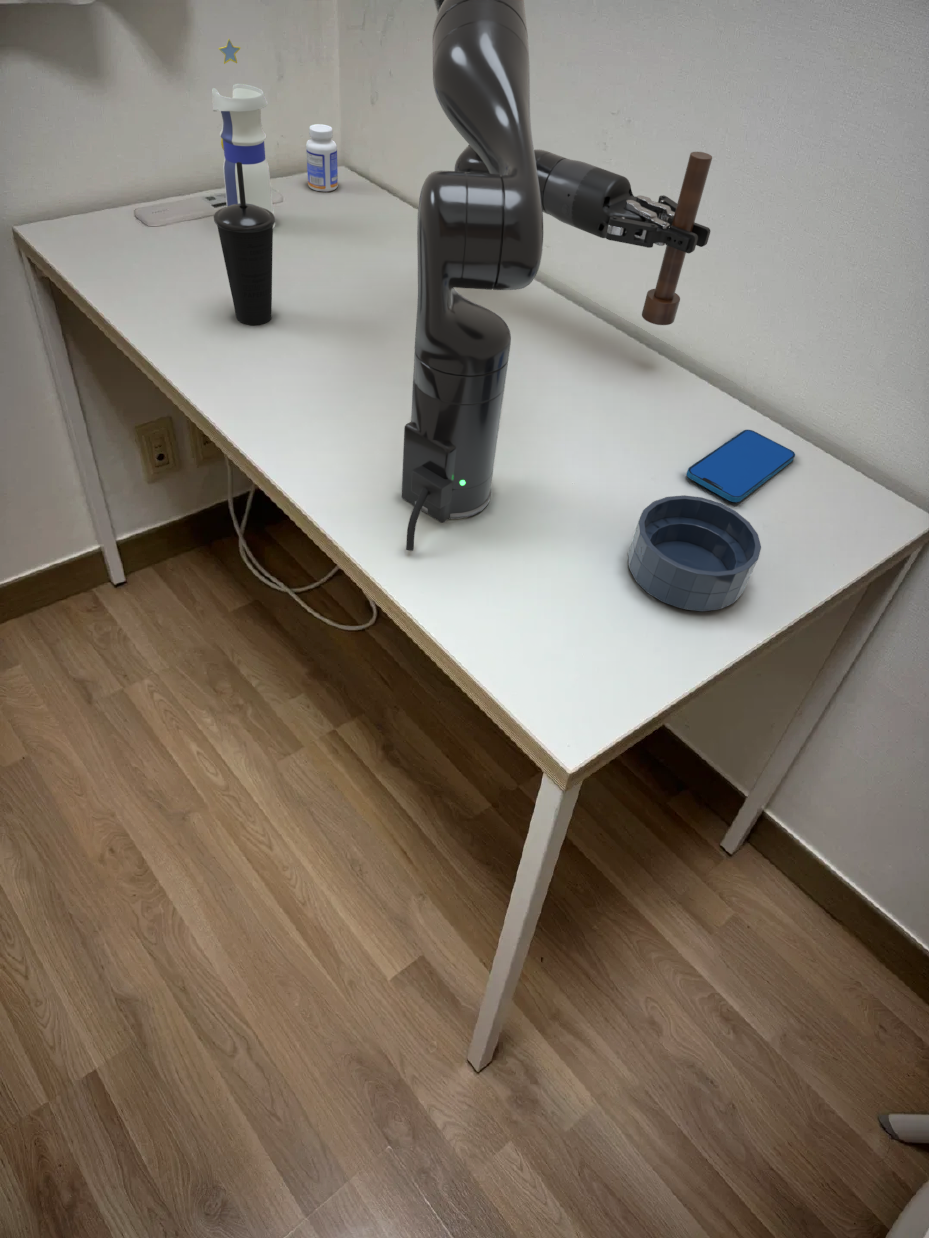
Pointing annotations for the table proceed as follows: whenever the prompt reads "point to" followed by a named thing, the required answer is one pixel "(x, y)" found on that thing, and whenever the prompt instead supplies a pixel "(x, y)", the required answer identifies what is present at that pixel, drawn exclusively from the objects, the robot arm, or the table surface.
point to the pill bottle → (321, 158)
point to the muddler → (663, 297)
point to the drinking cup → (248, 256)
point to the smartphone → (740, 465)
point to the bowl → (693, 553)
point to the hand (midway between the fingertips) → (700, 241)
